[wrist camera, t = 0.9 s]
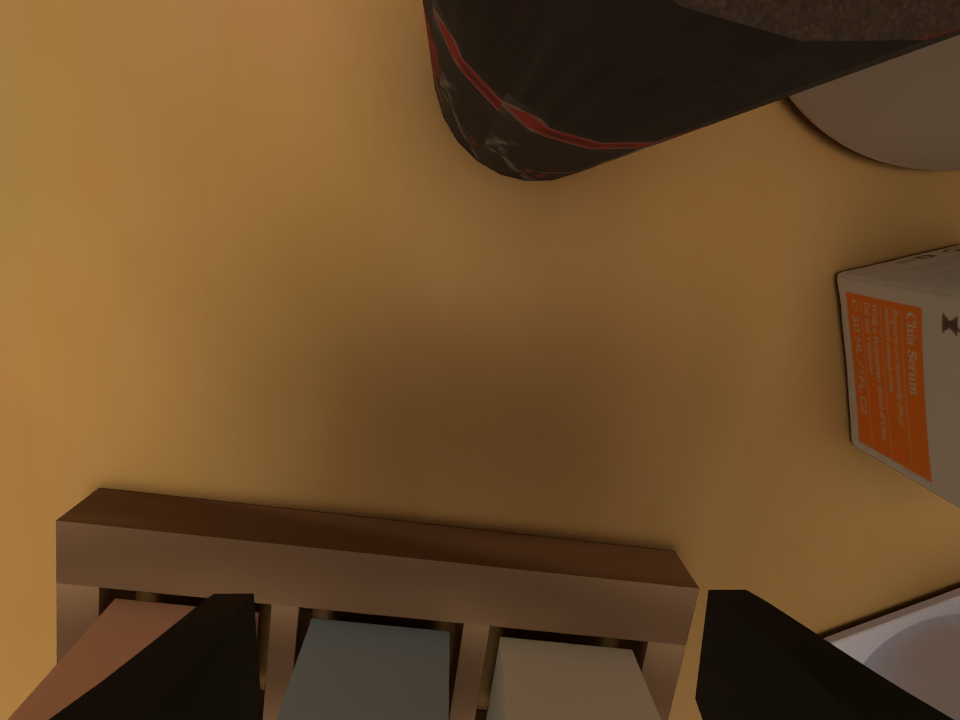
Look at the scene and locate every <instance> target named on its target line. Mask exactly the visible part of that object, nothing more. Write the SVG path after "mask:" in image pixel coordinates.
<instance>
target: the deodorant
mask: <svg viewBox="0 0 960 720" xmlns="http://www.w3.org/2000/svg"><path fill="white" fill-rule="evenodd" d="M423 6H424V13H425V20H426V27H427V34H428V41H429V48H430V55H431V62H432V69H433V77H434V84H435V90H436V93H437V97H438V100H439V104H440V107H441V110H442V114H443V117H444V119H445V121H446V122H447V124H448V126H449V127H450V129H451V131H452V133H453V134H454V136H455V138H456V139H457V141H458V142H459V143H460V144H461V145H462V146H463V147H464V148H465V149H466V150H467V151H468V152H469V153H470V154H471V155H472V156H473V157H474V158H475V159H476V160H477V161H478V162H480V163H482V164H483V165H485V166H487V167H489V168H490V169H492V170H494V171H496V172H497V173H499V174H501V175H505V176H509V177H513V178H517V179H521V180H525V181H541V180H555V179H558V178H561V177H565V176H568V175H571V174H575V173H578V172H581V171H584V170H586V169H589V168H592V167H595V166H597V165H600V164H603V163H606V162H608V161H611V160H614V159H617V158H620V157H622V156H625V155H628V154H631V153H633V152H636V151H639V150H642V149H645V148H647V147H650V146H653V145H656V144H658V143H661V142H664V141H667V140H669V139H672V138H675V137H678V136H681V135H683V134H686V133H689V132H692V131H694V130H697V129H700V128H703V127H706V126H708V125H711V124H714V123H717V122H719V121H722V120H725V119H728V118H730V117H733V116H736V115H739V114H742V113H744V112H747V111H750V110H753V109H755V108H758V107H761V106H764V105H767V104H769V103H772V102H775V101H778V100H780V99H783V98H786V97H789V96H791V95H794V94H797V93H800V92H803V91H805V90H808V89H811V88H814V87H816V86H819V85H822V84H825V83H828V82H830V81H833V80H836V79H839V78H841V77H844V76H847V75H850V74H852V73H855V72H858V71H861V70H864V69H866V68H869V67H872V66H875V65H877V64H880V63H883V62H886V61H888V60H891V59H894V58H897V57H900V56H902V55H905V54H908V53H911V52H913V51H916V50H919V49H922V48H925V47H927V46H930V45H933V44H936V43H938V42H941V41H944V40H947V39H949V38H952V37H955V36H958V35H960V0H423Z"/></svg>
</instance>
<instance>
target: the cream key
mask: <svg viewBox="0 0 960 720" xmlns="http://www.w3.org/2000/svg"><path fill="white" fill-rule="evenodd" d="M486 720H661V719H660V716H659V714H658V711H657V709H656V707H655V704H654V702H653V699H652V697H651V694H650V692H649V690H648V687H647V685H646V682H645V680H644V678H643V675H642V673H641V670H640V668H639V665H638V663H637V661H636V658H635V656H634V653H633V651H632V650H630V649H620V648H609V647H599V646H589V645H579V644H568V643H558V642H548V641H538V640H528V639H517V638H507V637H500V641H499V646H498V652H497V658H496V664H495V670H494V676H493V682H492V688H491V694H490V700H489V706H488V712H487V718H486Z"/></svg>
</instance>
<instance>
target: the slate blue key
mask: <svg viewBox="0 0 960 720" xmlns="http://www.w3.org/2000/svg"><path fill="white" fill-rule="evenodd" d="M276 720H449V631H439V630H429V629H418V628H408V627H398V626H388V625H378V624H367V623H357V622H347V621H337V620H327V619H316V618H312V619H311V622H310V625H309V628H308V630H307V633H306V636H305V639H304V642H303V645H302V647H301V650H300V653H299V656H298V659H297V662H296V664H295V667H294V670H293V673H292V676H291V679H290V681H289V684H288V687H287V690H286V693H285V696H284V698H283V701H282V704H281V707H280V710H279V712H278V715H277V718H276Z"/></svg>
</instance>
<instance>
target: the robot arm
mask: <svg viewBox="0 0 960 720" xmlns="http://www.w3.org/2000/svg"><path fill="white" fill-rule="evenodd" d="M695 699H696V702H697V705H698V708H699V710H700V713H701V716H702V719H703V720H960V588H958V589H955V590H952V591H950V592H947V593H944V594H941V595H939V596H936V597H933V598H931V599H928V600H925V601H923V602H920V603H917V604H914V605H912V606H909V607H906V608H904V609H901V610H898V611H896V612H893V613H890V614H887V615H885V616H882V617H879V618H877V619H874V620H871V621H869V622H866V623H863V624H860V625H858V626H855V627H852V628H850V629H847V630H844V631H842V632H839V633H836V634H833V635H831V636H828V637H825V638H822V637H820V636H819V635H817V634H816V633H814V632H813V631H811V630H810V629H808V628H807V627H805V626H803V625H802V624H800V623H799V622H797V621H796V620H794V619H793V618H791V617H790V616H788V615H787V614H785V613H784V612H782V611H780V610H779V609H777V608H776V607H774V606H773V605H771V604H769V603H768V602H766V601H764V600H763V599H761V598H759V597H758V596H756V595H754V594H752V593H751V592H749V591H747V590H709V591H708V599H707V607H706V615H705V624H704V632H703V640H702V648H701V656H700V665H699V673H698V681H697V689H696V697H695ZM260 708H261V698H260V682H259V666H258V651H257V635H256V619H255V603H254V593H242V594H213V595H211V596H210V597H209V598H207V599H206V600H205V601H203V602H202V603H201V604H199V605H198V606H197V607H195V608H194V609H193V610H192V611H190V612H189V613H188V614H187V615H185V616H184V617H183V618H182V619H180V620H179V621H178V622H177V623H175V624H174V625H173V626H172V627H170V628H169V629H168V630H167V631H165V632H164V633H163V634H162V635H160V636H159V637H158V638H157V639H155V640H154V641H153V642H152V643H150V644H149V645H148V646H146V647H145V648H144V649H143V650H141V651H140V652H139V653H137V654H136V655H135V656H134V657H132V658H131V659H130V660H128V661H127V662H126V663H125V664H123V665H122V666H121V667H120V668H118V669H117V670H116V671H114V672H113V673H112V674H111V675H109V676H108V677H107V678H105V679H104V680H103V681H101V682H100V683H99V684H97V685H96V686H94V687H93V688H92V689H90V690H89V691H88V692H86V693H85V694H83V695H82V696H81V697H79V698H78V699H76V700H75V701H74V702H72V703H71V704H69V705H68V706H67V707H65V708H64V709H63V710H61V711H60V712H58V713H57V714H56V715H54V716H53V717H51V718H50V719H49V720H257V719H258V716H259V712H260Z"/></svg>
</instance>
